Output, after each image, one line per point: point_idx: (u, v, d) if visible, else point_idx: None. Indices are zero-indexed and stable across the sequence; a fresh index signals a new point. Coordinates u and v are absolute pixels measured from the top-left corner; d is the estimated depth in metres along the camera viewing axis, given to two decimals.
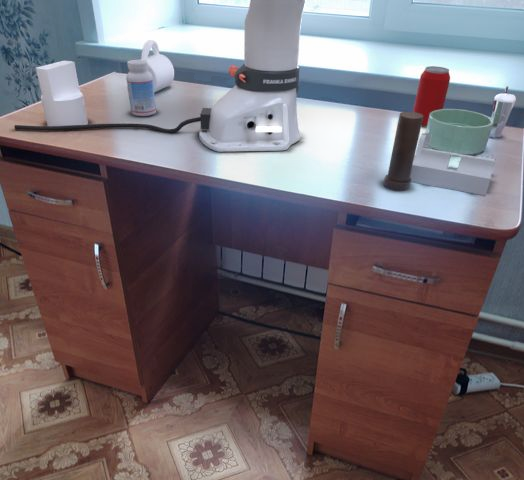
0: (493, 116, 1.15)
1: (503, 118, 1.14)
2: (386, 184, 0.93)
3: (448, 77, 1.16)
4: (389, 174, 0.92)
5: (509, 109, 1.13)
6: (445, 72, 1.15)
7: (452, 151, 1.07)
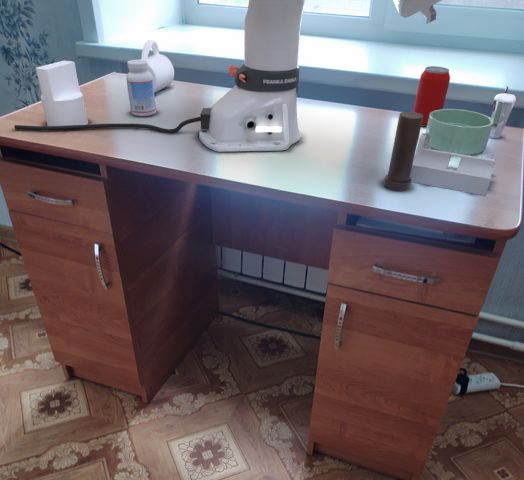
0: (493, 116, 1.15)
1: (503, 118, 1.14)
2: (386, 184, 0.93)
3: (448, 77, 1.16)
4: (389, 174, 0.92)
5: (509, 109, 1.13)
6: (445, 72, 1.15)
7: (452, 151, 1.07)
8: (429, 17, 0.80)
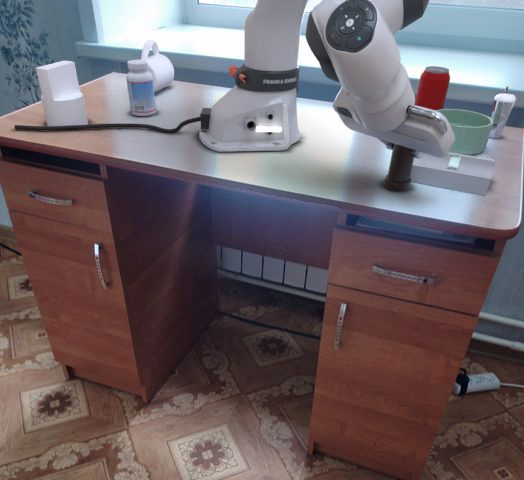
0: (493, 116, 1.15)
1: (503, 118, 1.14)
2: (386, 184, 0.93)
3: (448, 77, 1.16)
4: (389, 174, 0.92)
5: (509, 109, 1.13)
6: (445, 72, 1.15)
7: (452, 151, 1.07)
8: (386, 145, 0.91)
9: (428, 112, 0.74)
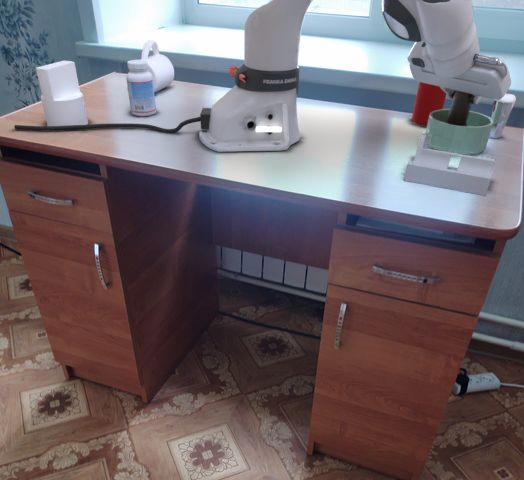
0: (493, 116, 1.15)
1: (503, 118, 1.14)
2: None
3: None
4: (449, 119, 1.09)
5: (509, 109, 1.13)
6: None
7: (452, 151, 1.07)
8: (447, 94, 1.08)
9: (492, 58, 0.92)
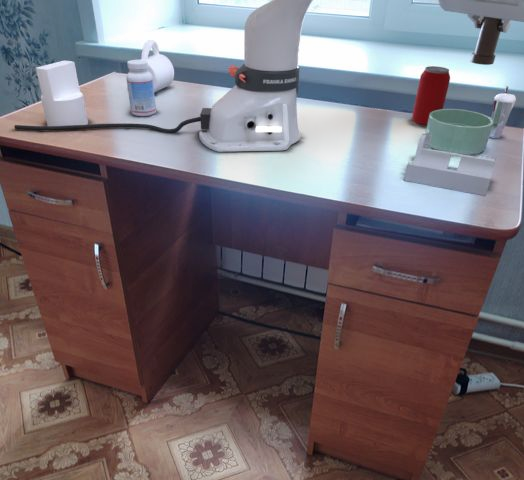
0: (493, 116, 1.15)
1: (503, 118, 1.14)
2: (474, 59, 1.07)
3: (448, 77, 1.16)
4: (477, 50, 1.06)
5: (509, 109, 1.13)
6: (445, 72, 1.15)
7: (452, 151, 1.07)
8: (475, 23, 1.05)
9: None
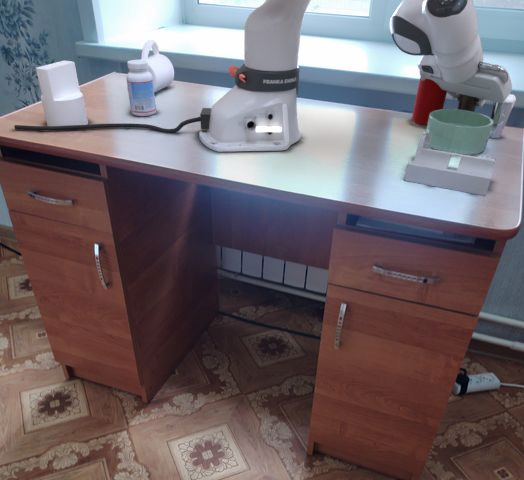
0: (493, 116, 1.15)
1: (503, 118, 1.14)
2: None
3: None
4: None
5: (509, 109, 1.13)
6: None
7: (452, 151, 1.07)
8: (453, 97, 1.18)
9: (495, 65, 1.02)
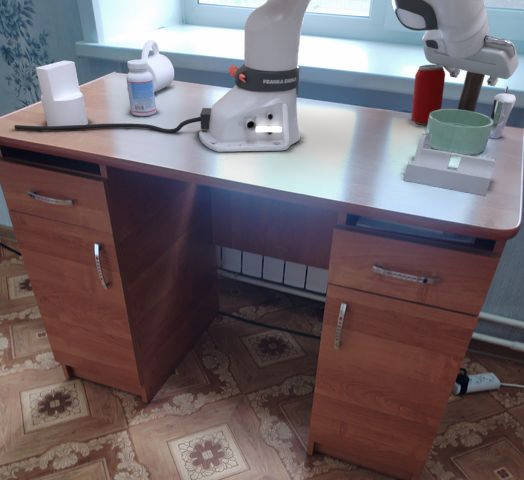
0: (493, 116, 1.15)
1: (503, 118, 1.14)
2: None
3: (443, 73, 1.16)
4: None
5: (509, 109, 1.13)
6: (439, 68, 1.15)
7: (452, 151, 1.07)
8: (450, 73, 1.17)
9: (502, 39, 0.99)
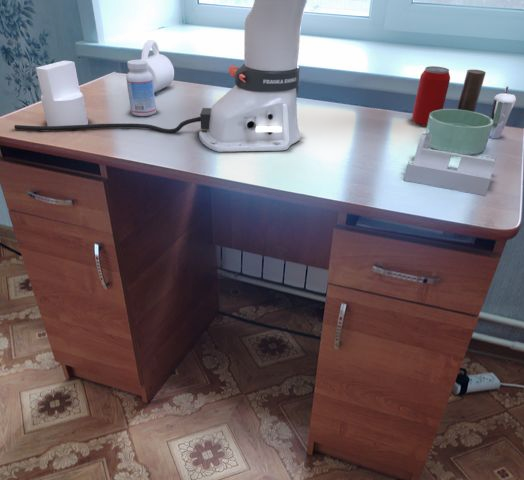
0: (493, 116, 1.15)
1: (503, 118, 1.14)
2: None
3: (448, 77, 1.16)
4: None
5: (509, 109, 1.13)
6: (445, 72, 1.15)
7: (452, 151, 1.07)
8: None
9: None
